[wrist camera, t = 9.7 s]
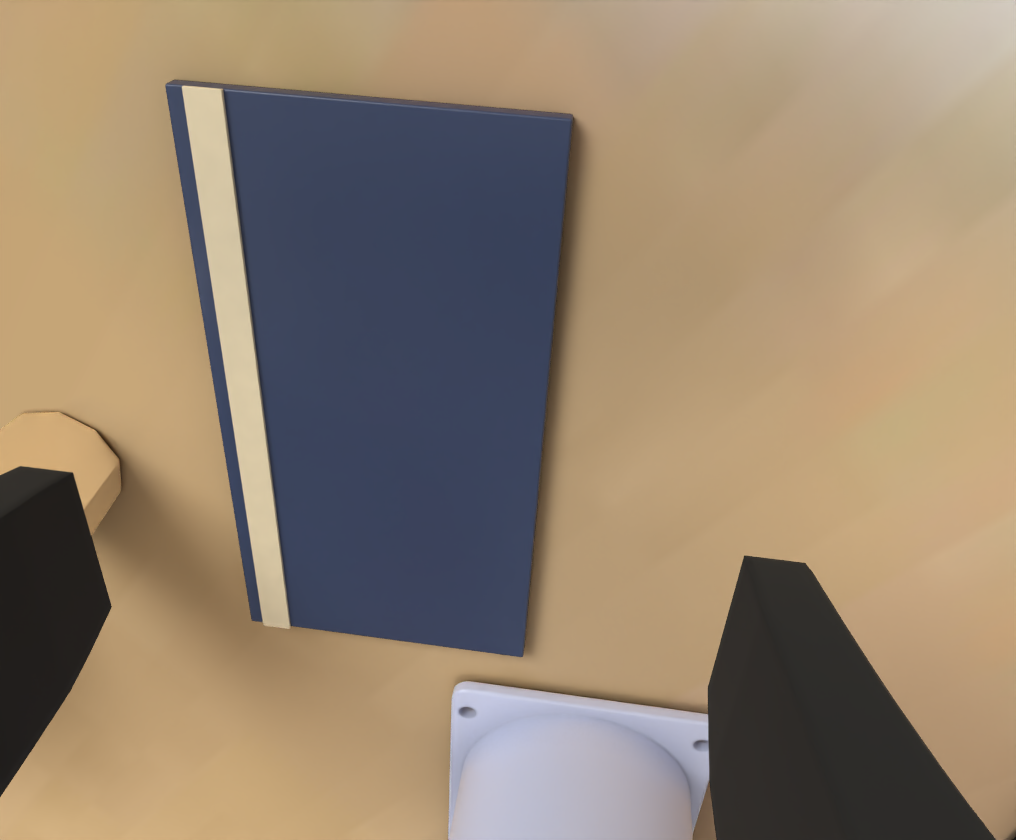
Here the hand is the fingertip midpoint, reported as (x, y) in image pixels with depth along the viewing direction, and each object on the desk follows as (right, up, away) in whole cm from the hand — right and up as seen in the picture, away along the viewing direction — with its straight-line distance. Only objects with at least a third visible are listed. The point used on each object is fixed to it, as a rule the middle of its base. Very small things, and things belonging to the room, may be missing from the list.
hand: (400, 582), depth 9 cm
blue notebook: (-2, +2, +12) cm, 12 cm away
